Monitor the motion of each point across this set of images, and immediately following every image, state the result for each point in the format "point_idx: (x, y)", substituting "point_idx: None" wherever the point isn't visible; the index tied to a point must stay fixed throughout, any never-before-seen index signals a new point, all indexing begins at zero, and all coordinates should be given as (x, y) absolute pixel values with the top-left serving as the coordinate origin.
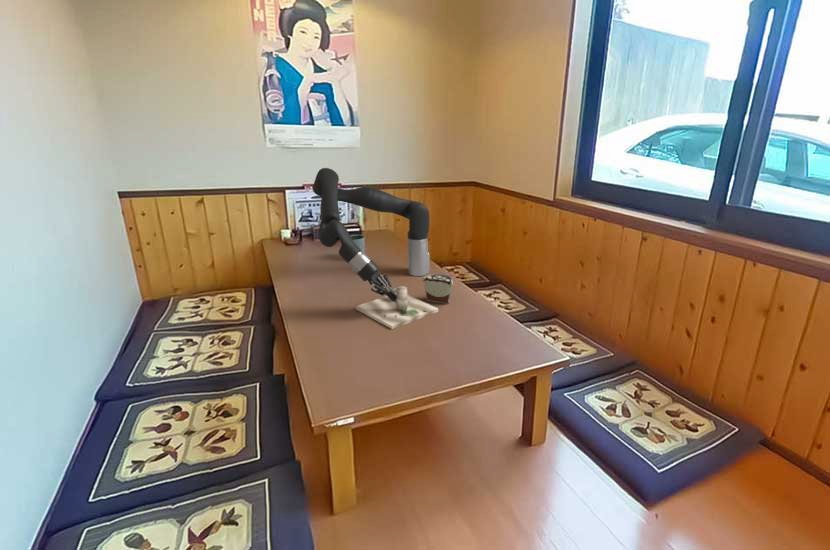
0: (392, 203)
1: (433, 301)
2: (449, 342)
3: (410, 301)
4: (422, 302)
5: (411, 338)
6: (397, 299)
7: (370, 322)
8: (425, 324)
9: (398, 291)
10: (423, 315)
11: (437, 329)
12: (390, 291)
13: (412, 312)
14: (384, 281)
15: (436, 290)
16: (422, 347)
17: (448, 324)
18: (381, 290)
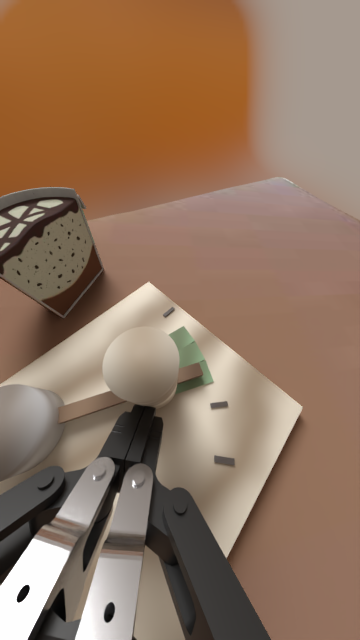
0: None
1: (78, 300)
2: (300, 267)
3: (79, 363)
4: (98, 322)
5: (322, 339)
6: (167, 399)
7: (271, 538)
8: (231, 312)
9: (173, 382)
10: (188, 316)
11: (251, 287)
12: (137, 458)
13: (183, 345)
14: (31, 628)
15: (63, 265)
16: (350, 311)
17: (220, 268)
18: (232, 582)
